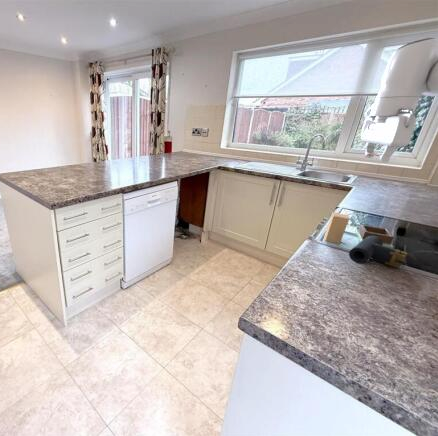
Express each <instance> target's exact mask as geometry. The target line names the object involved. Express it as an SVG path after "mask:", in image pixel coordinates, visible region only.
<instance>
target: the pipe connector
mask: <svg viewBox="0 0 438 436" xmlns="http://www.w3.org/2000/svg"><path fill="white" fill-rule="evenodd" d="M348 256H349V259H350V260H351V261H353V262H354V261H355V263H357V264H364V263H367V262H368V261H369V260H370V259H371V260H375V261H378V262H380V263H384V264H385V265H388V266H391V267H394V268H396V269H401V267H402V266H403V264H404V262H405V259H406V257H407V256H408V252H406V251H402V250H401V249H396V248H393V249H392V248H389V247H385V246H383V242H382V240H381V239H380V238H378V237H376V236H368V237H366V238H365V239H364V240H363V241H361V242H360V241H359V243H358V244H356V245H355V246H353V248H351V249H350V250H349V252H348Z"/></svg>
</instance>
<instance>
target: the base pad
mask: <svg viewBox="0 0 438 436" xmlns="http://www.w3.org/2000/svg"><path fill="white" fill-rule="evenodd" d="M354 232H355V235H356V237H357V239H358V240H359V243H360V242H361V241H363V240H364V239H365V238H366V237H368V236H376V237H378V238H380V239H381V240H382V242H383V246H385V247H389V248H392V249H395V247H394V245H393V244H392V243H393V242H394V241H393V240H394V238H395V236H394V235H393V234H392V233H391V231H390V230H389V229H388V228H384V227H379V226H373V225H367V224H362V223H361V224H360V225H359V228H356V229H354Z"/></svg>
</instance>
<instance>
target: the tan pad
mask: <svg viewBox="0 0 438 436" xmlns="http://www.w3.org/2000/svg"><path fill="white" fill-rule="evenodd" d="M349 222H350V217H349V216H348V214H345V213H338V212H334V211H332V212H331V215H330V218H329V221H328V224H327V227H326V230H325V233H324V241H325V242H329V243H333V244H338V245H340V244H341V242H342V240H343V237H344V234H345V231H346V229H347V226H348V224H349Z"/></svg>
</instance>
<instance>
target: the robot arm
mask: <svg viewBox="0 0 438 436" xmlns="http://www.w3.org/2000/svg"><path fill="white" fill-rule="evenodd" d="M380 83H381V84H380V85H381V87H380V90H379V92H378V94H377V95H376V98H375V100H374V103H373V104H372V105H371V107H369V108H368V109H367V110H366V111H365V114H364V117H365V120H364V123H363V125H362V130H361V134H360V141H361V142H363V143H365V153H364V156H363V157H364V158H365V159H372V158H374V155H375V152H374V151H375V147H376V146H377V145H382V146H384V148H383V152H382V154H380V155H379V158H378V162H379V163H384V164H385V163H389V162H390V159H391V157H392V156H393V154H394V153H395V152H396V151H397V149H398V147H399V148H404V147H407V146H408V145H409V144H410V143H411V140H412V137H413V134H414V131H415V128H416V123H417V118H416V116H415V111H416V108H417V105H418V103H419V100H420V98H421V96H427V97H438V38H437V37H427V38H423V39H417V40H414V41H411V42H408V43H406V44H403V45H401V46H400V47H398V48H397V49H396V50H395V51H394V52H393V53H392V55H391V56H390V58H389V60H388V63H387V65H386V68H385V70H384V73H383V76H382V78H381V82H380Z"/></svg>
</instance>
